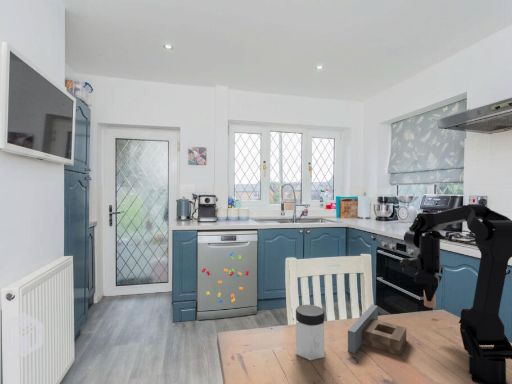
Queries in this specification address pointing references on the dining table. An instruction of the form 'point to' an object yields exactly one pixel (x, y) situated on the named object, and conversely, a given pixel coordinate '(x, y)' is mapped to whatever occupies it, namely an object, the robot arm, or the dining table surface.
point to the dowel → (430, 304)
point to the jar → (310, 331)
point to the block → (385, 336)
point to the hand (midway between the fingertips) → (429, 299)
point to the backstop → (360, 328)
